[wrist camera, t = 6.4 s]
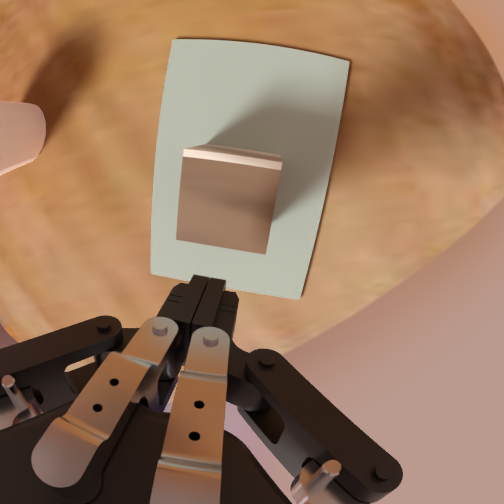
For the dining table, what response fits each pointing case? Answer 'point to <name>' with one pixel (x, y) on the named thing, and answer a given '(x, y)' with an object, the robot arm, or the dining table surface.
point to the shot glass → (20, 134)
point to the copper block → (227, 197)
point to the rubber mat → (250, 138)
